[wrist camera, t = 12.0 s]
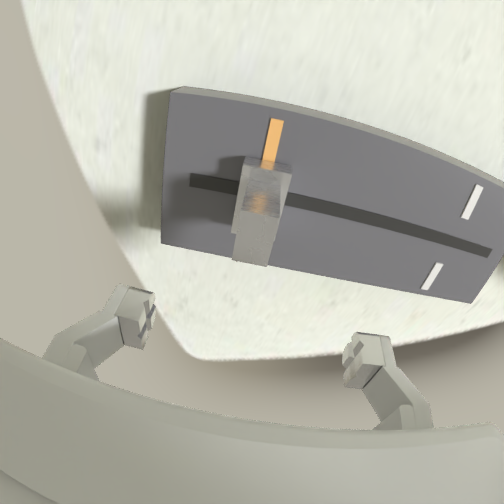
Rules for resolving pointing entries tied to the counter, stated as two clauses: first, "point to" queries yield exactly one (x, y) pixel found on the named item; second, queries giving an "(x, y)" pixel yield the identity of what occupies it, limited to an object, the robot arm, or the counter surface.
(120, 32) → the counter surface
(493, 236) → the fader panel
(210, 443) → the robot arm
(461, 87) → the counter surface
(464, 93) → the counter surface
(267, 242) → the fader knob
